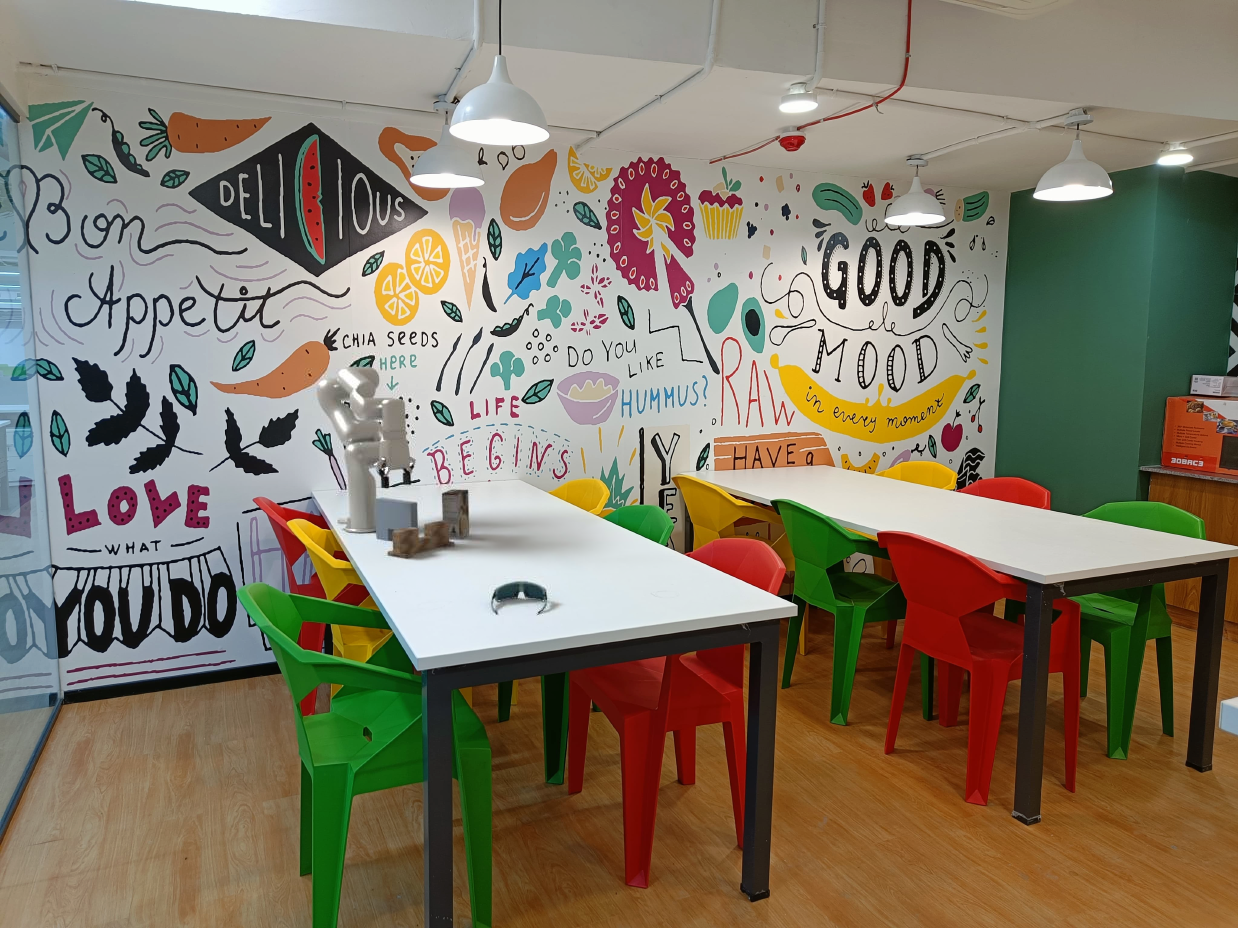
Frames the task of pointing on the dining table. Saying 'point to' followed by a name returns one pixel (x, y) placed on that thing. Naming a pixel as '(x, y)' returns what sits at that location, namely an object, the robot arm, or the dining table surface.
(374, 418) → the robot arm
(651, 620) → the dining table surface
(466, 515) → the coffee box
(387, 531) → the slate grey plank
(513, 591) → the sunglasses
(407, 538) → the slotted base board
